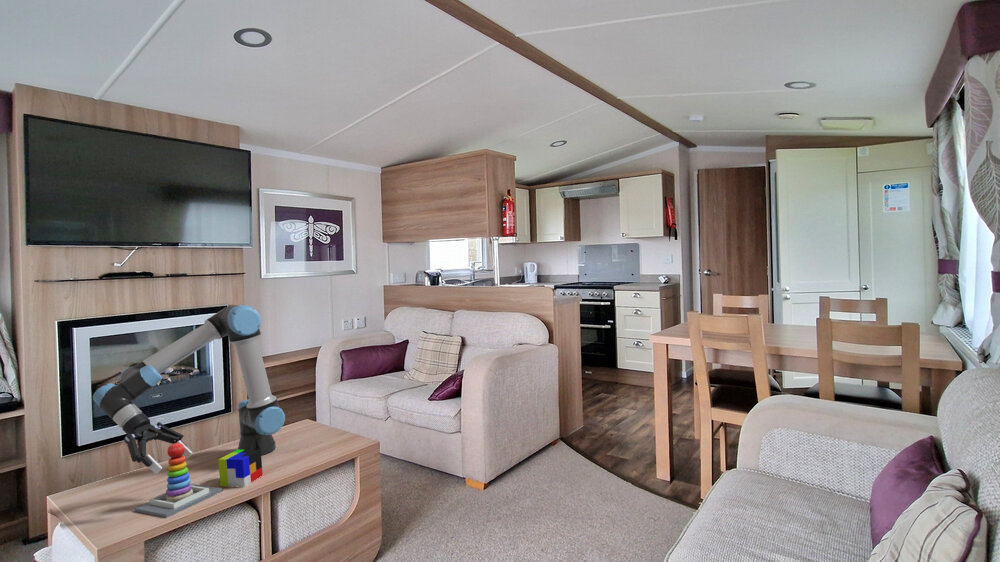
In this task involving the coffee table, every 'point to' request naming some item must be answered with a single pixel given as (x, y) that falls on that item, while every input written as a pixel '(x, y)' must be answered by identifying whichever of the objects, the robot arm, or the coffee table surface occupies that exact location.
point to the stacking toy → (177, 475)
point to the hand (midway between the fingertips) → (175, 463)
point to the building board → (166, 509)
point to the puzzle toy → (240, 468)
